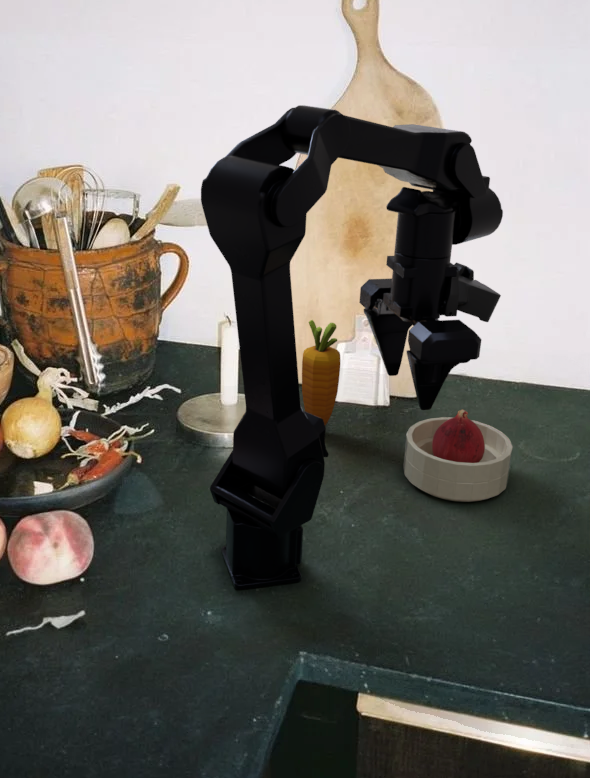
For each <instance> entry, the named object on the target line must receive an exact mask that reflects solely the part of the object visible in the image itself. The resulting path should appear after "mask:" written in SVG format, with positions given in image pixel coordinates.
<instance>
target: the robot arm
mask: <svg viewBox="0 0 590 778" xmlns="http://www.w3.org/2000/svg"><path fill="white" fill-rule="evenodd" d="M472 141H473V140H472V137H471V136H470V134H468V133H467V132H465V131H462V130H455V129H448V128H447V129H446V128H441V127H434V126H428V125H420V124H414V123H409V124H395V125H393V126H390V125H385V124H381V123H378V122H373V121H369V120H365V119H360V118H357V117H353V116H349V115H346V114H343V113H341V112H340V111H339V110H337V109H331V108H326V107H325V108H324V107H318V106H311V105H305V104H303V105H297V106H295V107H291V108H289V109H288V110H286V112H284V114H282V116H281V117H280V118H278V119H277V120H276V121H275V123H273V124H271V125H269V126H268V127H266V128H263V129H262V130H260V131H259V132H256V133H254V134H252V135H251V136H249V137H247V138H245V139H243V140H241V141H240V142H238V143H237V144H236V145H235V146H234V147H233V148H231V150H230V151H229V152H228V153H227V154H226V155H225V156H224V157H222V158H221V159H219V160H217V161H216V162H215V163H214V164H213V166H212V167H211V168H210V169H209V171H208V174H207V176H206V177H205V178H203V179H202V182H201V187H200V202H201V203H200V204H201V208H202V211H203V214H204V218H205V221H206V225H207V230H208V233H209V235H210V238H211V240H212V241H213V242H214V244H215V245H216V247H217V249H218V250H219V252H220V253H221V255H222V257H223V258H224V260H225V262H226V264H228V266H229V269H230V274H231V282H232V283H231V284H232V290H233V298H234V299H233V301H234V311H235V318H236V326H237V327H236V329H237V338H238V347H239V354H240V365H241V374H242V384H243V392H244V393H243V394H244V402H245V411H244V414H243V415H242V417H241V418H240V420H239V421H238V424H236V426H235V428H234V430H233V438H232V441H233V442H232V451H231V452H230V454H229V456H227V458H226V460H225V462H224V463H223V465H222V467H221V468H220V470H219V472H218V473H217V475H216V476H215V478H214V480H213V482H212V483H211V484H210V487H209V491H210V493H211V496H212V500H213V502H214V503H215V504H217V505H220V506H223V507H224V508H226V523H225V524H226V525H225V526H226V527H225V528H226V529H225V537H226V539H225V545H224V546H222V547H221V556H222V558H223V561H224V563H225V567H226V569H227V571H228V575H229V577H230V580H231V582H232V585H233V587H234V589H237V590H244V589H251V588H252V589H253V588H259V587H267V586H275V585H284V584H292V583H298V582H301V580H302V572H301V570H300V569H299V567H298V566H299V565H301V563H302V560H303V541H304V540H303V539H304V538H303V537H304V528H303V525H306V524H307V523H308V522H310V521H311V520H312V519H313V515H314V513H315V508H316V505H317V501H318V498H319V494H320V491H321V488H322V485H323V481H324V478H325V463H326V462H325V458H328V457H329V455H330V454H329V452H328V450H327V446H326V430H327V428H326V426H325V424H324V421H323V419H322V418H319V417H317V416H315V415H312V414H310V413H308V412H305V410H303V407H302V405H301V395H300V381H299V369H298V356H297V344H296V330H295V316H294V305H293V290H292V278H291V277H292V276H291V261H292V260H293V257H294V256H295V254H296V252H297V251H298V249H299V248H300V246H301V243H302V241H303V240H304V238H305V237H306V229H307V216H308V215H307V214H308V212H310V211H311V209H312V208H313V207H314V206H315V205H316V204H317V203H318V201H319V200H321V198H323V196H324V195H325V194H326V192H327V190H328V185H329V180H330V175H331V170H332V165H333V164H334V163H335V162H336V161H337V160H338V159H343V160H348V161H353V162H359V163H364V164H368V165H373V166H375V165H376V166H378V167H380V168H382V169H383V171H384V173H385V174H387V175H389V176H390V177H392V178H394V179H397V180H398V181H401V182H404V183H408V184H410V186H412V187H417V188H421V189H426V190H423V191H422V190H421V189H416V188H412V187H407V186H403V187H402V188H401V189H400V191H399V192H398V193H397V194H396V195H395V196H394V197H392V198H391V199H390V200H389V201H388V202H387V204H386V207H385V208H386V210H387V211H389V212H393V213H397V219H396V220H397V221H396V230H395V241H394V253H393V255H387V256H386V266H387V268H390V269H391V270H392V272H391V276H392V277H390V278H368V279H367V280H366V282H365V283H363V284H362V285H361V286H360V291H359V304H360V305H361V306H362V307H363V314H364V315H365V317H366V319H367V322H368V324H369V327H370V330H371V332H372V335H373V337H374V340H375V343H376V345H377V348H378V351H379V354H380V357H381V359H382V363H383V365H384V368H385V371H386V374H387V375H388V376H390V377H396V376H398V375H399V372H400V369H401V365H402V360H403V356H404V352H405V346H406V342H408V348H409V350H408V349H407V350H406V356H407V362H408V366H409V369H410V374H411V378H412V382H413V387H414V391H415V395H416V399H417V404H418V408H419V409H420V410H421V411H430V410H431V409H432V407H433V405H434V403H435V402H436V399H437V397H438V395H439V394H440V392H441V389H442V388H443V385H444V384H445V381H446V379H447V378H448V376H449V374H450V373H451V371H452V370H453V369H454V368H455V367H456V366H458V365H460V364H466V363H469V362H470V361H471V360H473V361H474V360H478V358H480V353H481V348H482V341H483V340H482V338H481V337H480V336H479V334H477V333H476V331H475V330H474V329H472V328H471V327H469V326H468V325H467V324H465V323H464V322H463V321H462V320H460V319H443V320H442V319H441V320H440V318H441V317H440V316H444V317H457V315H458V312H461V313H463V314H466V315H470V316H473V317H476V318H478V319H479V320H480V321H482V322H485V323H489V322H490V320H491V317H492V315H493V313H494V312H495V309H496V307H497V304H498V303H499V301H500V298H501V296H502V295H501V294H500V293H499V292H497V291H496V290H494V289H492V288H491V287H489V286H488V285H486V284H484V283H482V282H480V281H479V280H478V279H475V270H473V269H471V268H470V267H469V266H468V265H465V264H463V263H460V262H455V263H452V262H451V259H452V258H451V257H452V251H453V250H452V249H453V246H455V245H460V244H463V243H467V242H470V241H472V240H473V241H475V240H478V239H481V238H484V237H487V236H490V235H492V234H493V233H495V231H497V229H499V227H500V225H501V223H502V219H503V216H504V215H503V214H504V211H503V208H502V203H501V201H500V198H499V197H498V195H497V194H496V192H495V191H493V189H491V188H490V182H491V178H490V176H486V175H483V173H482V170H481V166H480V164H479V161H478V156H477V154H476V150H475V148H474V146H473V145H471V143H472ZM297 154H301V155H305V156H307V157H306V158H305V159H304V160H303V161H302V162H301V163H300V164H299V165H298V166H297V167H296V169H294V168H292V167H289V166H285V165H283V164H284V163H286V162H288V161H290V160H291V159H292V158H293V157H295V156H296V155H297ZM431 190H432V191H431Z"/></svg>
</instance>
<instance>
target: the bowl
mask: <svg viewBox="0 0 590 778" xmlns="http://www.w3.org/2000/svg"><path fill="white" fill-rule="evenodd" d="M451 418H452V417H449V416H447V417H446V416H441V417H431V418H427V419H424V420H420V421H417V422H416V423H414V424H412V425H410V427H409V429H408V431H407V432H406V434H405V445H404V446H405V447H404V456H403V467H402V468H403V473H404V476H405V478H406V479H407V480H408V481H409V483H410V484H411V485H413V486H415V487H416V488H417V489H419V490H420V491H422V492H424V493H425V494H427V495H431V496H432V497H435V498H437V499H438V498H439V499H442V500H446V501H451V502H459V503H471V502H479V501H484V500H488V499H490V498H493V497H497V496H499V495H501V493H502V492H504V491H505V490H506V489H507V486H508V484H509V478H510V477H509V475H510V470H511V463H512V457H513V449H514V446H513V443H512V442H511V439H510V438H509V437H508V436H507V435H506V434H505V433H504V432H502V431H501V430H499V429H497V428H496V427H493V426H492V425H489V424H486V423H484V422H480V421H477V420H473V419H470V420H471V421H473V422H474V423H475V424H476V425H477V426H478V427H479V429H480V430H481V432H482V435H483V438H484V444H485V451H484V455H483V457H482V459H481V460H480V462H479V463H465V462H454V461H450V460H445V459H441V458H438V457H436V456H434V454H433V452H432V441H433V436H434V434H435V432H436V430H437V429H438V427H439V426H440V425H442V424H443V423H444V422H445V421H447V420H449V419H451Z"/></svg>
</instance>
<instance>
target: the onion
mask: <svg viewBox="0 0 590 778" xmlns="http://www.w3.org/2000/svg"><path fill="white" fill-rule="evenodd" d="M468 415H469V412H468V411H466V409H460V410H458V411H457V414H456V415H455V416H454V417H451V419H449V420H447V421H445V422H444V423H443V424H442V425H440V426H439V427H438V429H437V430H436V432H435V434H434V436H433V441H432V452H433V454H434V456H436V457H438V458H441V459H445V460H450V461H454V462H465V463H479V462H480V460H481V459H482V457H483V455H484V451H485V444H484V438H483V435H482V432H481V430H480V429H479V427H478V426H477V425H476V424H475V423H474V422H473V421H471V420H472V419H470V418H468Z"/></svg>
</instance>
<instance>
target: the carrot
mask: <svg viewBox="0 0 590 778" xmlns="http://www.w3.org/2000/svg"><path fill="white" fill-rule="evenodd" d="M308 325H309V328H310V329H311V333H312V336H313V340H314V345H312V346H309V347H307V348H305V349H304V350H303V353H302V359H301V393H302V402H303V407H304V411H305V412H308V413H310V414H312V415H315V416H317V417H319V418H322V419H323V421H324V424H325V427H326V426H327V424H328V422H329V420H330V418H331V416H332V414H333V411H334V408H335V404H336V401H337V395H338V391H339V383H340V382H339V381H340V373H341V353H340V351H339V350H338V349H336V348H334V347H332V346H333V345H334V344H335V343H337V342H338V339H337V338H335V337H333V338H331V337H332V336H333V334H334V333H335V331H336V330H337V324H336V323H334V322H329V323H328V324H327V325H326V327H325V328H324V330H323V328H322V327H321V326H318V327H317V325H316V323H315V321H314V320H313V319H311V320H309V321H308ZM322 332H323V334H322Z"/></svg>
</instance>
